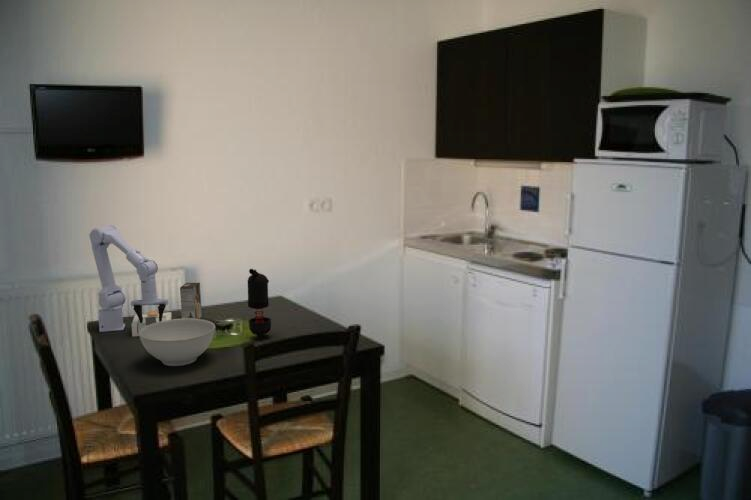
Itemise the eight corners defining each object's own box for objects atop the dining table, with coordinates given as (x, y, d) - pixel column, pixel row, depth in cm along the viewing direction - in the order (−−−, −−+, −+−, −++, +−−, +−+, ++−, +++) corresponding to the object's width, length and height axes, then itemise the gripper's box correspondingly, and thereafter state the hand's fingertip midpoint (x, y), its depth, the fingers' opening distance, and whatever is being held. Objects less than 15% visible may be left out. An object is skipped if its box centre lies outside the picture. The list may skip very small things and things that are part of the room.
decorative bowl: (189, 343, 250) (187, 314, 247) (231, 358, 233) (230, 327, 231) (126, 361, 229) (124, 330, 227) (167, 380, 213) (165, 346, 210)
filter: (263, 343, 250) (261, 269, 244) (243, 340, 253) (240, 268, 247) (279, 332, 262) (277, 263, 257) (260, 330, 265) (257, 261, 260)
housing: (132, 336, 258) (131, 324, 257) (135, 325, 272) (135, 314, 271) (170, 333, 262) (169, 321, 261) (172, 323, 276) (171, 312, 275)
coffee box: (188, 316, 286) (186, 282, 283) (202, 316, 286) (200, 282, 283) (181, 322, 277) (179, 287, 274) (196, 322, 277) (194, 287, 274)
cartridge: (138, 333, 258) (137, 319, 257) (140, 326, 267) (139, 312, 266) (164, 330, 261) (163, 317, 260) (165, 324, 270) (164, 310, 269)
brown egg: (147, 324, 268) (147, 314, 268) (148, 321, 273) (147, 311, 272) (158, 323, 270) (157, 313, 269) (159, 320, 274) (158, 310, 273)
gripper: (168, 287, 262) (170, 318, 264) (132, 288, 260) (135, 319, 262) (165, 291, 255) (167, 323, 257) (128, 292, 253) (131, 324, 256)
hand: (151, 322), depth 260 cm, fingers open, 7 cm apart
